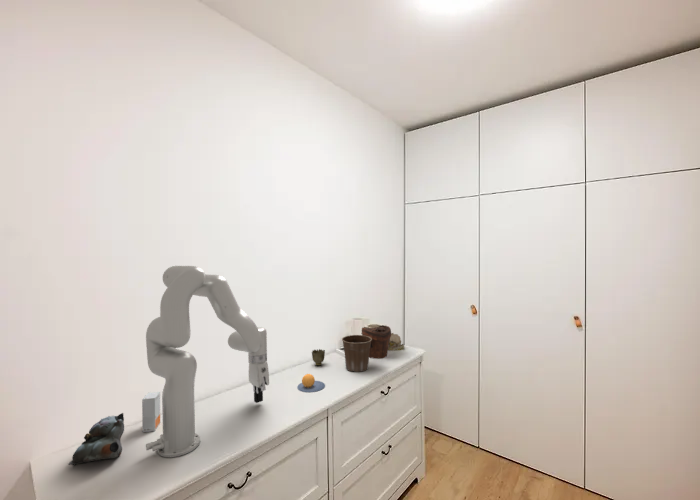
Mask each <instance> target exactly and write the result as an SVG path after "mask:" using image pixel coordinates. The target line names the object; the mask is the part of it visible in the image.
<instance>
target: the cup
mask: <svg viewBox="0 0 700 500" xmlns="http://www.w3.org/2000/svg"><path fill="white" fill-rule="evenodd" d="M325 354H326V350H325V349H320V348H319V349H313V350H312V351H311V357H312V361H313V362H314V365H315V366H317V367H320V366H322V364H323V362H324V360H325Z"/></svg>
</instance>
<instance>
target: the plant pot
mask: <svg viewBox="0 0 700 500" xmlns="http://www.w3.org/2000/svg"><path fill="white" fill-rule="evenodd" d="M371 341H372V338H370V337H368V336H364V335H362V334H352V335H351V334H350V335H346V336H343V337H342V338H341V342H342V346H343V350H344V360H345V361H344V363H345V369H346V370H347V371H349V372H354V373H362V372H366V371H367V370H368V369H369V362H370V361H369V360H370V357H369V351H370V346H371Z"/></svg>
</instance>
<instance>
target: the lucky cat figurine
mask: <svg viewBox="0 0 700 500" xmlns="http://www.w3.org/2000/svg"><path fill="white" fill-rule="evenodd" d="M124 421H125V417H124V412H122V413H120V414H118V415H108V416H105V417H103V418H100V420H99V421H97V422H95V423H94V424H93V425H92V427H90V428H89V431H88V433H86V434H85V435H84V437H83V439H84V441H83V442H82V443H81V444H80V446H78V447H77V448H76V450H75V451H74V452H73V454H72V459H71V461H69V463H67V465H71V466H75V465H77V464H83V463H89V462H94V461H99V460H107V459H109V460H110V459H115V458H117V459H118V458H119V457H121V454H122V451H123V447H122V443H121V440H122V436H123V435H124V433H125V424H124V423H125V422H124Z"/></svg>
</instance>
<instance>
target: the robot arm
mask: <svg viewBox="0 0 700 500" xmlns="http://www.w3.org/2000/svg"><path fill="white" fill-rule="evenodd" d="M162 282H163V285H164V286H165V287H166V289H165V290H164V292H163V294H162V296H161V300H160V306H159V307H160V308H159V309H160V310H159V314H160V315H159V316H158V317H156V318H154V319H153V320H152V321H151V322H150V323H149V324H148V325H147V329H146V331H145V343H146V344H145V345H146V359H147V365H148V368H149V371H150V372H151V373H152V374H154V375H156V376H158V377H161V378H164V380H165V383H164V385H163V389H162V390H163V391H162V392H161V393H162V395H161V405H162V434H160V436H159V438H157V439H156V440H155V441H151V442H148V443H146V444H145V450H146V451H149V450H152V452H156V451H157V454H158V455H159V456H161V457H163V458H175V457H176V458H177V457H180V456H183V455H186V454H188V453H190V452H192V451H194V450H195V449H196V448H197V447H198V446H199V445H200V443H201V436H200V434H198V433H197V432H196V415H195V414H196V413H195V411H196V409H195V407H196V406H195V401H196V400H195V382H196V374H197V368H198V363H197V359H196V357H195V356H194V355H193V354H192V353H190V352H189V351H186V350H182V349H179V348H183V347H185V346H186V345H187V344H188V343H189V341H190V340H191V319H190V303H191V299H192V297H193V296H198V297H204V298H207V300H208V301H209V304H210V306H211V307H212V309H213V311H214V313H215V315H216V317H217V318H218V319H219V321H221V322H222V323H224V324H226V325H227V326H229V327H230V328H232V329H234V332H231V334H230V335H228V339H227V345H228V346H229V347H230V349H233V350H235V351H238V352H239V351H241V352H244V353H247V354H248V355H247V357H248V381H249V383H250V384H251V385H252V389H253V390H252V391H253V402H254V403H256V404H258V403H261V402H263V401H264V394H263V393H264V391H266V390H267V389H266V386H269V385H270V371H269V366H268V343H267V342H268V339H267V338H268V337H267V336H268V335H267V333H268V332H267V329H266V328H265V327H262V326H261V327H260V326H257V325H256V323H255V321H254V320H253V319H252V318H251V317H250V316H249V315H248V314H247V313H246V312H245V311H244V310H243V309H242V308H241V307H240V306H239V304H238V301H237V299H236V298H235V296H234V293H233V291H232V289H231V287H230V284H229V283H228V280H227V279H226V278H225V277H224V276H222V275H219V274H206V273H205V271H204V270H203V269H202V268H201V267H199V266H196V265H174V266H173V265H172V266H170V267H168V268H167V269H165V271H164V272H163V274H162Z"/></svg>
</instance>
